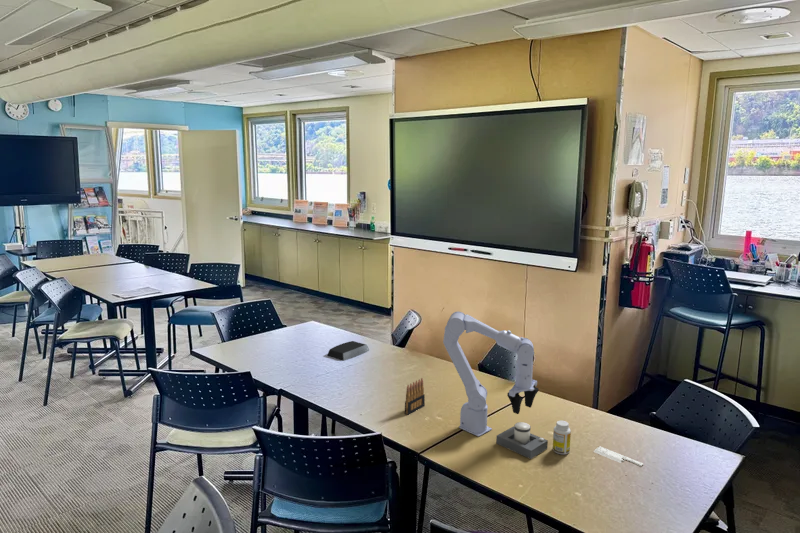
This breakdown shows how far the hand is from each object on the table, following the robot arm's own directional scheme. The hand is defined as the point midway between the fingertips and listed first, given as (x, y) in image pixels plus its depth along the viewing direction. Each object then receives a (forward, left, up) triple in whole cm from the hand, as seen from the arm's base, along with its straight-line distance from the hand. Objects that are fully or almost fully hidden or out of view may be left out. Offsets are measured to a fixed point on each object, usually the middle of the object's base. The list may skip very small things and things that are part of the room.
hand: (522, 409), depth 195 cm
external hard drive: (-110, +8, -10) cm, 110 cm away
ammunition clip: (-40, -14, -10) cm, 43 cm away
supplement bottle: (+16, 0, -10) cm, 19 cm away
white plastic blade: (+31, +9, -10) cm, 34 cm away
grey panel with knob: (+5, -7, -9) cm, 13 cm away
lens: (+5, -7, -8) cm, 12 cm away
